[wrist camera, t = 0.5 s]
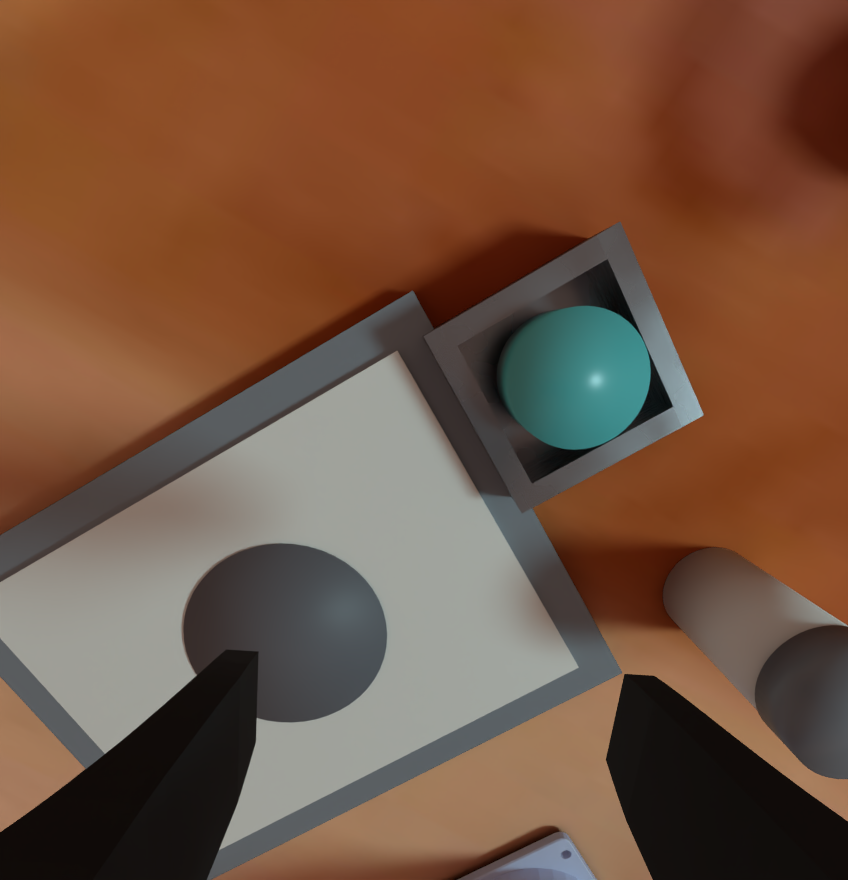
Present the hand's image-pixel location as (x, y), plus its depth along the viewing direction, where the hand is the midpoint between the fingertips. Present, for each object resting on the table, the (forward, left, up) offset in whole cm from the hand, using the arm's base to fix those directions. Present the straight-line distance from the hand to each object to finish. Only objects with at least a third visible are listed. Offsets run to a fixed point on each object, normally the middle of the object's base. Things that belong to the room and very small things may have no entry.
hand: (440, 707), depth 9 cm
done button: (+3, -7, -9) cm, 11 cm away
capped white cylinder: (-9, -9, -10) cm, 16 cm away
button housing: (+3, -7, -10) cm, 13 cm away
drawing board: (-1, +7, -10) cm, 12 cm away
